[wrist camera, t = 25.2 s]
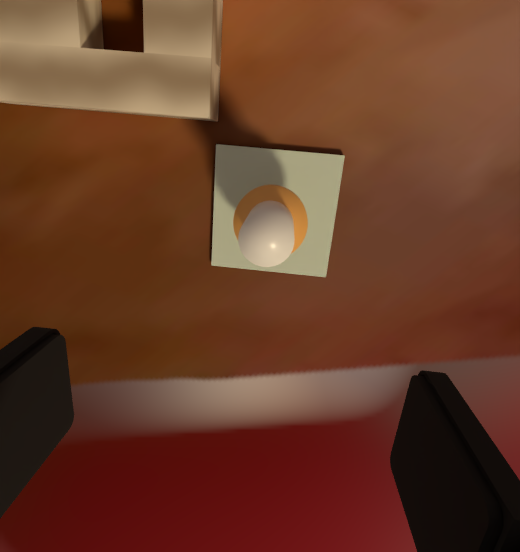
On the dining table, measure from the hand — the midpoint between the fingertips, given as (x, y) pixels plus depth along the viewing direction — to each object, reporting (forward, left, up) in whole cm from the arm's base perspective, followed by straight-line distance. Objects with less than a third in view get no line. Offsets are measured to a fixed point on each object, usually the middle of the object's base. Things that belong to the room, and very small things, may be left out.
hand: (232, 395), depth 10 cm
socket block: (+15, +16, -28) cm, 36 cm away
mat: (0, 0, -28) cm, 28 cm away
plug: (0, 0, -28) cm, 28 cm away
